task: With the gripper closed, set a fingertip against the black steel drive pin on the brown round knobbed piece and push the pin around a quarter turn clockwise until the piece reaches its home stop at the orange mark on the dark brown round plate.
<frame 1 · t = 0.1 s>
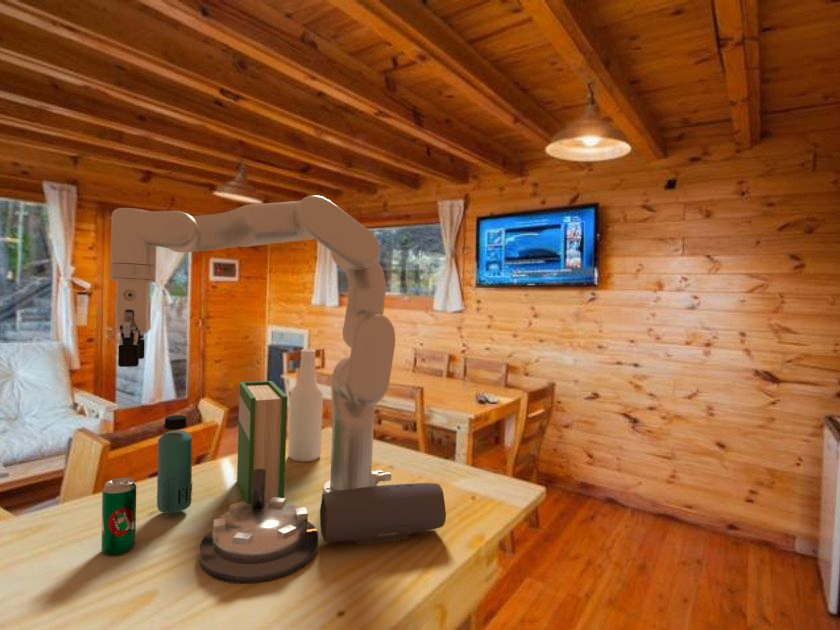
hand: (132, 362, 95), 31 cm above the table, tool pointing down, fingers open, 9 cm apart
bluetooth speaker: (381, 539, 94), on the table
white bottle: (304, 457, 136), on the table
soda can: (118, 550, 85), on the table
dark brown round plate: (260, 550, 87), on the table
hardback book: (259, 494, 111), on the table
brown round knobbed piece: (261, 511, 87), point 7 cm above the table, hinge at 0.0°
beverage bottle: (174, 514, 100), on the table
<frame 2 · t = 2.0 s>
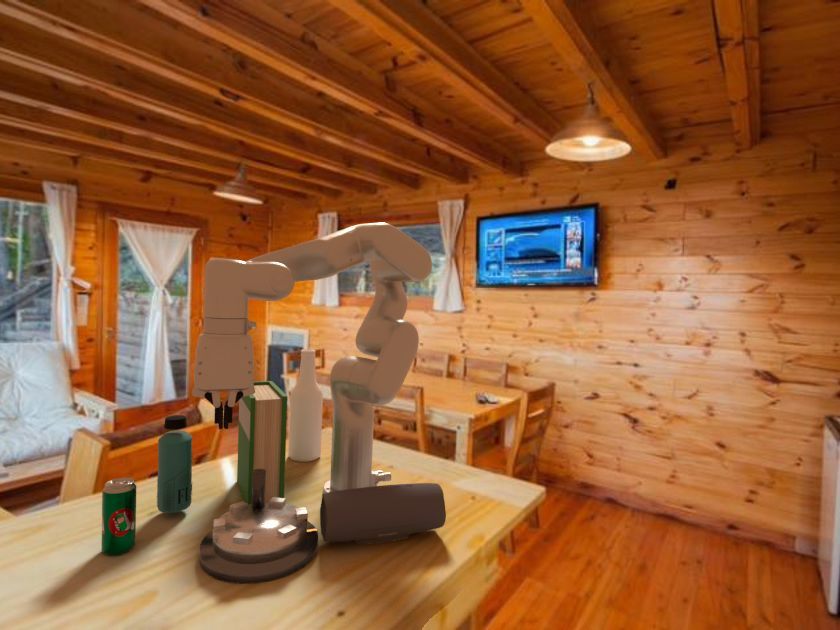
hand: (223, 427, 89), 21 cm above the table, tool pointing down, fingers closed
nothing on the table moved.
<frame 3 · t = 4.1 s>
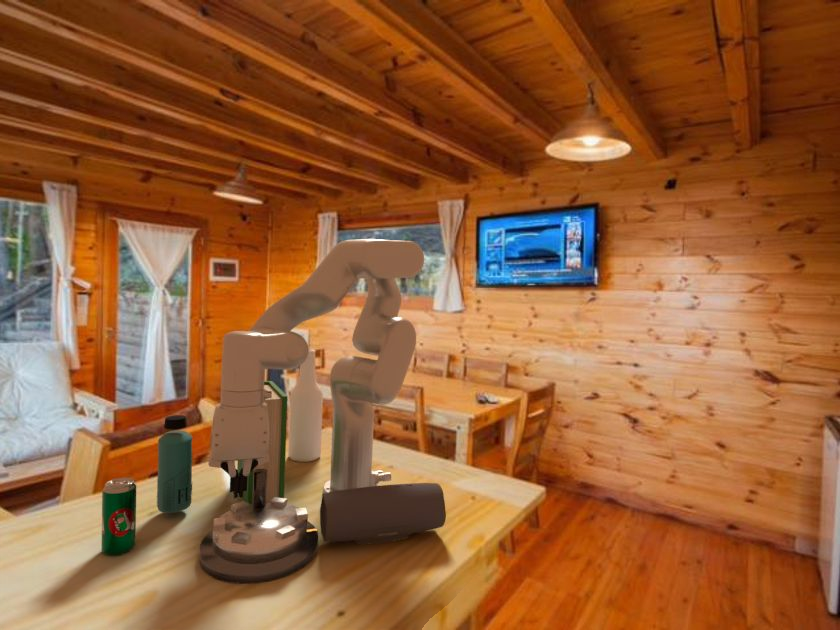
hand: (238, 495, 91), 8 cm above the table, tool pointing down, fingers closed
brown round knobbed piece: (261, 511, 87), point 7 cm above the table, hinge at -2.0°, touching gripper
everything else where it was.
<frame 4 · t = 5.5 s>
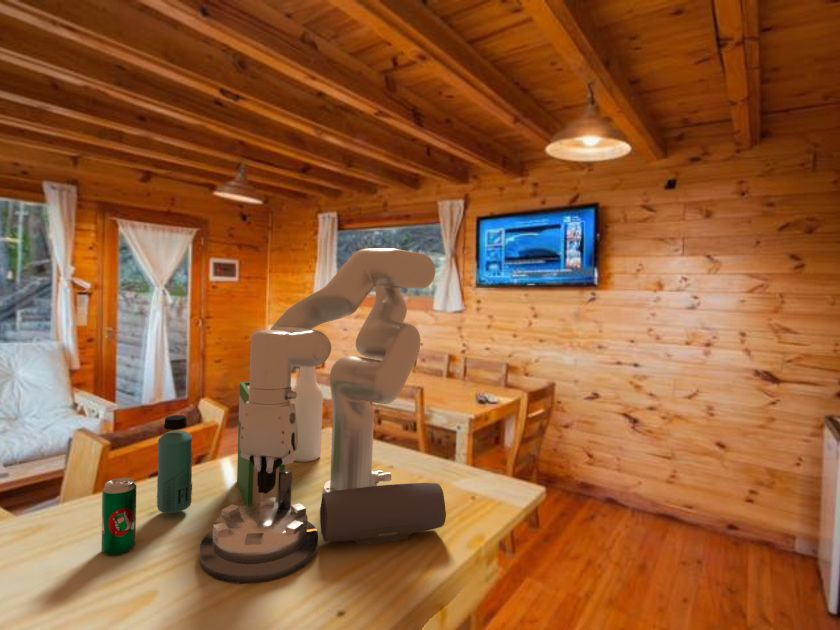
hand: (266, 490, 93), 8 cm above the table, tool pointing down, fingers closed
brown round knobbed piece: (261, 511, 87), point 7 cm above the table, hinge at -45.1°, touching gripper
everything else where it was.
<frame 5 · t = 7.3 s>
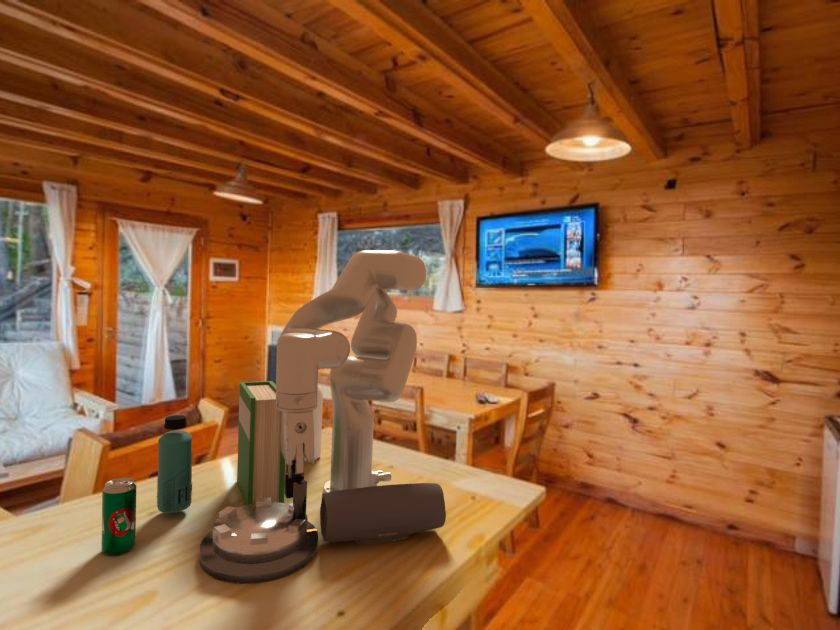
hand: (294, 495, 92), 8 cm above the table, tool pointing down, fingers closed
brown round knobbed piece: (261, 511, 87), point 7 cm above the table, hinge at -98.4°, touching gripper
everything else where it was.
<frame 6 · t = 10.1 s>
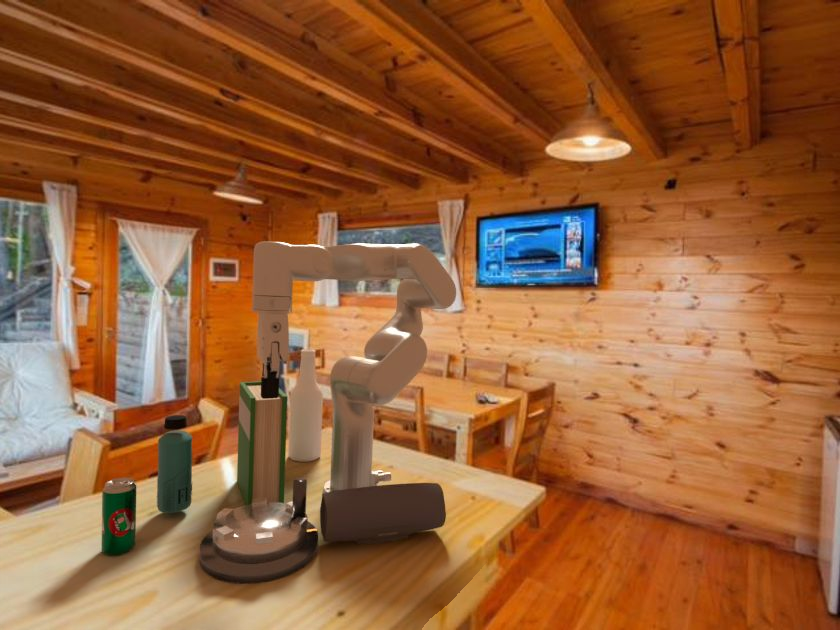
hand: (269, 397, 97), 25 cm above the table, tool pointing down, fingers closed
brown round knobbed piece: (261, 511, 87), point 7 cm above the table, hinge at -92.2°
everything else where it was.
at the end: brown round knobbed piece at -92° (first picture: +0°) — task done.
